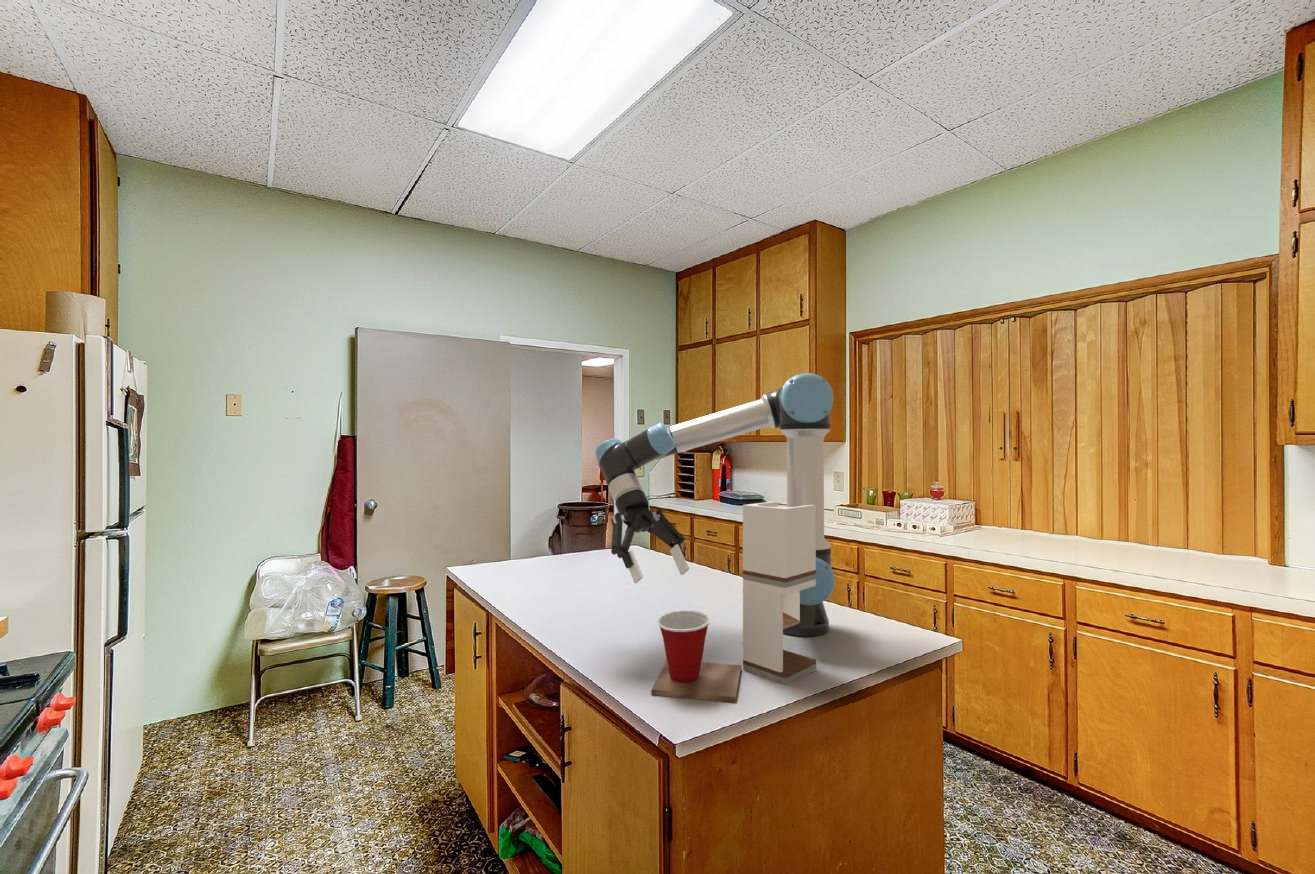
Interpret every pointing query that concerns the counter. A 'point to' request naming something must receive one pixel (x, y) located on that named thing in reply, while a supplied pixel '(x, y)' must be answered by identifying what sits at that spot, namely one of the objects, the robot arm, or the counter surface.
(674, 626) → the plastic cup
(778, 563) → the white dispenser
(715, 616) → the counter surface
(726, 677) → the walnut board
